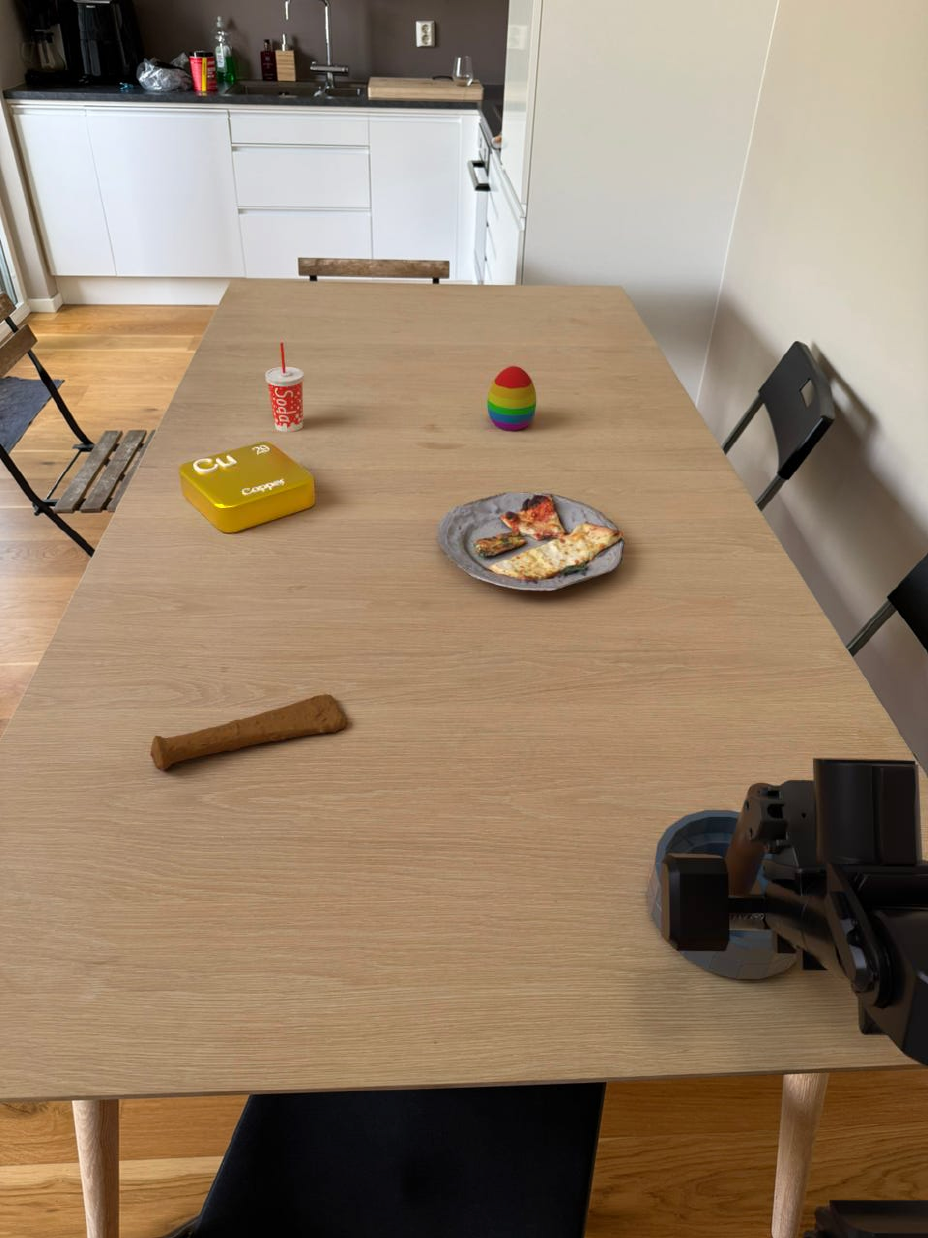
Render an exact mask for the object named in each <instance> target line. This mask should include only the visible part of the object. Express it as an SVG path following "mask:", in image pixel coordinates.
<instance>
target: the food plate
mask: <svg viewBox="0 0 928 1238" xmlns="http://www.w3.org/2000/svg"><path fill="white" fill-rule="evenodd" d="M437 530H438V531H437V537H436V538H437V541H438V543H439V546H440V548H441V550H442V551H443V552H444V554H445V555H447V556H448V557H449V559H450V560H452V562H453V563H455V565H456V566H459V568H460V569H462V570H463V571H464V572H466V574H468V575H469V576H471V577H473V578H474V579H477V580H480V581H482V582H487V583H490V584H494V585H496V586H499V587H503V588H509V589H514V590H522V591H523V590H524V591H539V592H541V591H543V592H544V591H548V592H550V591H551V592H552V591H556V590H558V589H563V588H564V587H565V588H566V587H568V586H570V585H574V584H576V585H577V584H579V583H581V582H585V581H588V580H589V579H592V578H595V577H599V576H601V575H604V574H605V573H610V572H612V571H614V570H615V569H616V568H618V567H619V566H620V565H621V563H622V561H623V556H624V549H625V544H626V543H625V541H624V539H623V535H624V534H623V532H622V531H621V530H619V528H618V526H616V524H614V522H613V521H611V520H610V519H609V518H608V517H607V516H606V515H605V514H604V513H602V512H601V510H598V509H596V508H594V507H592V506H591V505H589V504H586V503H584V502H581V501H578V500H575V499H571V498H568V497H565V496H561V495H559V494H554V493H550V492H549V493H547V492H546V493H545V492H538V493H536V492H531V491H524V492H511V491H510V492H503V493H499V494H495V495H490V496H487V497H485V498H480V499H477V500H474V501H469V502H466V503H464V504H460V505H456V506H454V507H453V508H452V509H450V510H449V511H446V513H445V514H444V515H443V516H442V517H441V519H440V522H439V524H438V527H437Z"/></svg>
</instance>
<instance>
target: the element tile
mask: <svg viewBox="0 0 928 1238" xmlns="http://www.w3.org/2000/svg"><path fill="white" fill-rule="evenodd" d="M178 474H179V480H180V485H181V492H182V495H183V497H184V498H186V500H187V501H189V503H190V504H191V505H193V506H194V507H195V508H196V509H197V510H198V511H199V512H200V513H201V515H203V516H204V517H205V518H206V519H207V520H208V521H209V523H211V524H212V525H213V527H215V528H216V529H217V530H219V531H220V532H223V533H227V534H231V533H238V532H242V531H245V530H247V529H251V528H254V527H256V526H259V525H262V524H263V525H264V524H265V523H268V522H269V523H270V522H272V521H275V520H278V519H280V518H281V519H282V518H284V517H287V516H290V515H293V514H296V513H298V512H302V511H305V510H308V509H310V508H311V507H313V506H314V505H315V503H316V494H315V493H316V491H315V479H314V476H313V474H312V473H311V472H309V470H307V469H305V468H304V467H303V466H302V465H301V464H299V463H298V462H297V461H295V460H294V459H293V458H291V457H290V456H289V455H288V454H286V453H285V452H284V451H282V449H280V448H279V447H277V446H276V445H275V444H273V443H270V442H268V441H261V442H256V443H255V442H254V443H252V444H249V445H245V446H241V447H238V448H234V449H231V450H226V451H224V452H223V451H222V452H220V453H216V454H212V455H209V456H205V457H202V458H198V459H195V460H191V461H188V462H185V463H182V464H181V465H180V466H179V467H178Z"/></svg>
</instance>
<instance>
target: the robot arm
mask: <svg viewBox="0 0 928 1238" xmlns="http://www.w3.org/2000/svg"><path fill="white" fill-rule="evenodd" d="M919 768H920V767H919V764H917V763H916V760H912V759H911V760H909V759H908V760H907V759H892V758H891V759H890V758H861V757H860V758H859V757H858V758H855V757H813V758H812V779H811V780H810V779H809V780H808V779H788V780H785V781H784V782H783V783H781V784H780V785H773V784H771V785H769V786H757V788H756V796H750V797H748V798H747V799H746V800H745V799H744V801H743V804H744V805H743V804H742V807H743V812H744V819H745V826H746V833H747V838H748V839H749V841H750V842H751V843H761V844H762V845H763V846H764V851H765V853H766V854H772V858H763V877H764V878H765V879H768V880H770V882H768V884H767V886H766V889H765V892H764V894H729V874H728V870H727V867H726V863H725V860H724V858H723V857H721V856H718V855H708V854H668V855H667V856H666V857H665V858H664V859H663V860H662V861H661V932H660V934H661V937H662V939H664V941H665V942H666V943H667V944H668V945H669V946H670V947H671V948H673V949H674V950H675V952H678V951H724V952H725V951H726V949H727V946H728V944H729V941H730V932H729V930H771V934H772V950H773V951H775V952H776V953H783V954H796V962H795V963H796V967H797V968H799V969H800V970H801V971H829V972H831V973H833V974H834V975H836V976H838V977H839V978H841V979H842V980H843V981H846V982H847V983H849V984H850V989H851V992H852V993H853V994H854V995H855V997H856V999H857V1020H858V1021H857V1022H858V1030H859V1032H860V1033H861V1034H862V1035H864V1036H887V1037H888V1038H889V1039H890V1041H892V1043H893V1044H894V1045H895V1046H896V1047H897V1049H899V1051H901V1053H902V1054H903V1055H904V1056H905V1057H907V1058H909V1059H911V1060H912V1061H914V1062H916V1063H918V1064H920V1065H922V1066H923V1067H925V1068H927V1069H928V860H926V859H924V858H923V838H922V836H923V835H922V818H921V817H922V816H921V815H922V813H921V795H920V791H921V790H920V776H919V775H920V771H919V770H920V769H919ZM729 913H761V916H760V918H759V915H757V914H755V917H753V915H752V914H750V915H749V918H748V916H747V915H746V914H744V916H743V918H742V915H741V914H738V917H736V915H735V914H733V915H732V918H731V916H730V914H729ZM763 914H764V915H763ZM828 1202H829V1204H828V1205H829V1206H828V1205H827V1206H825V1205H822V1206H821V1205H820V1206H816V1208H815V1210H814V1211H813V1215H814V1218H815V1222H814V1229H808V1230H805V1231H804V1233H803V1234H802V1236H801V1237H802V1238H928V1199H829V1201H828Z"/></svg>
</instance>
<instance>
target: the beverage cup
mask: <svg viewBox="0 0 928 1238" xmlns="http://www.w3.org/2000/svg"><path fill="white" fill-rule="evenodd" d="M279 346H280V347H279V348H280V357H281V366H278V367H274V368H273V367H272V368H270V369H269V370H266V372H265V373H264V377H265V382H266V383H267V385H268V392H269V398H270V404H271V410H272V416H273V422H274V428H275V429H276V430H277V431H278V432H279V431H280V432H284V433H294V432H296V431H299V430H301V429H302V428H303V427H304V404H303V403H304V399H303V392H304V391H303V381H304V380H305V379H304V378H305V374H304V371H303V370H302V369H301V368H298V367H294V366H286V360H285V350H284V342H280V343H279Z"/></svg>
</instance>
